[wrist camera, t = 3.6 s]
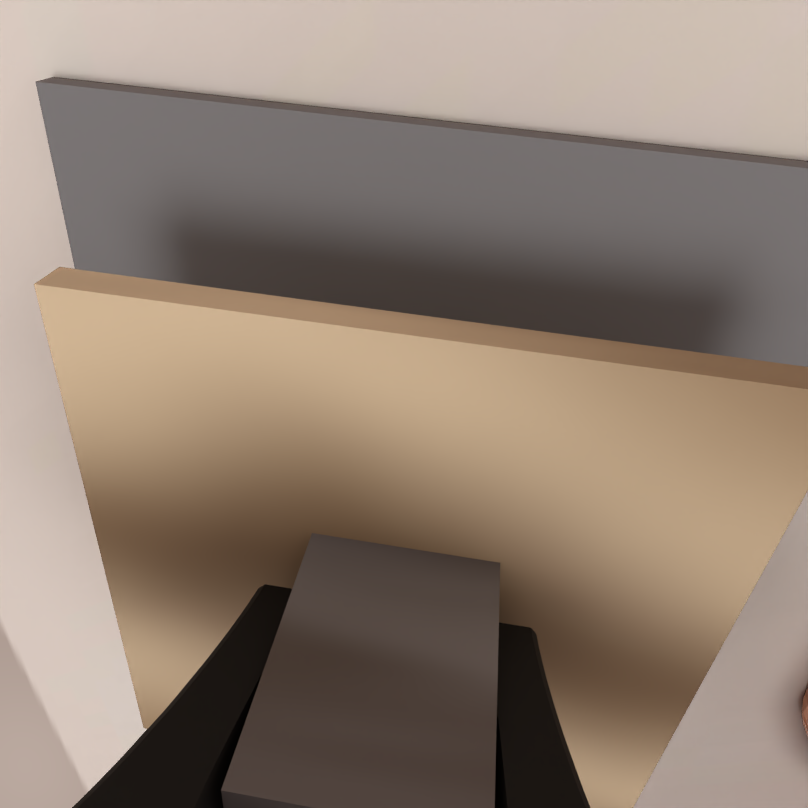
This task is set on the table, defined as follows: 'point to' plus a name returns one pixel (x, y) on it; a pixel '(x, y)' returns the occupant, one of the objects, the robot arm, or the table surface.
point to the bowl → (805, 711)
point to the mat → (436, 217)
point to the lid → (418, 525)
